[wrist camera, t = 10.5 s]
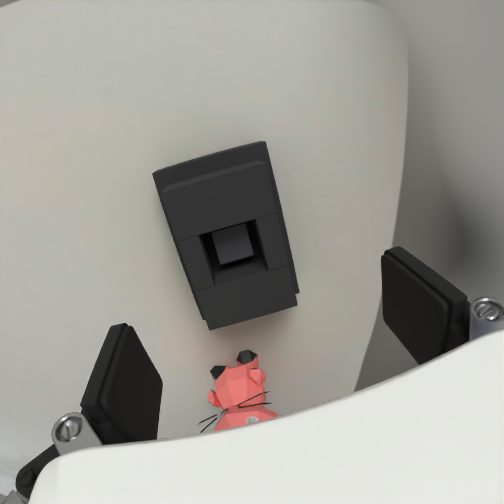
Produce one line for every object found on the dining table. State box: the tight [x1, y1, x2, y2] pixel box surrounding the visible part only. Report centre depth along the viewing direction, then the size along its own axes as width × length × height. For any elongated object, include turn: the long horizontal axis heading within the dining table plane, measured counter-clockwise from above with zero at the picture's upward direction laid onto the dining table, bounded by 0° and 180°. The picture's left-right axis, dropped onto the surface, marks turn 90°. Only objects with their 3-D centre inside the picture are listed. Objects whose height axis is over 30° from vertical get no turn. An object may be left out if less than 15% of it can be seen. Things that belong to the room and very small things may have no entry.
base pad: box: [152, 141, 299, 320], centre depth 23 cm, size 12×8×4 cm, turn 14°
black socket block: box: [161, 160, 297, 330], centre depth 21 cm, size 10×6×3 cm, turn 14°
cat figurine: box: [198, 350, 278, 433], centre depth 24 cm, size 7×7×12 cm
